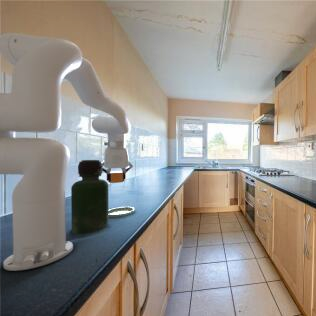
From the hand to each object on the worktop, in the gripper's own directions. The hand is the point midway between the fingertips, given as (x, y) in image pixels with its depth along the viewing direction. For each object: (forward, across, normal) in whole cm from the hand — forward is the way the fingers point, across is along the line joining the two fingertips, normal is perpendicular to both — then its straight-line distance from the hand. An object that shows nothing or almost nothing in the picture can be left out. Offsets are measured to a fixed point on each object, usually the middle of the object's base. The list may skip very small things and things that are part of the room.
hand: (116, 181), depth 92 cm
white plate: (+13, 0, -12) cm, 18 cm away
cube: (0, 0, 0) cm, 0 cm away
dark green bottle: (+13, -11, -24) cm, 30 cm away
